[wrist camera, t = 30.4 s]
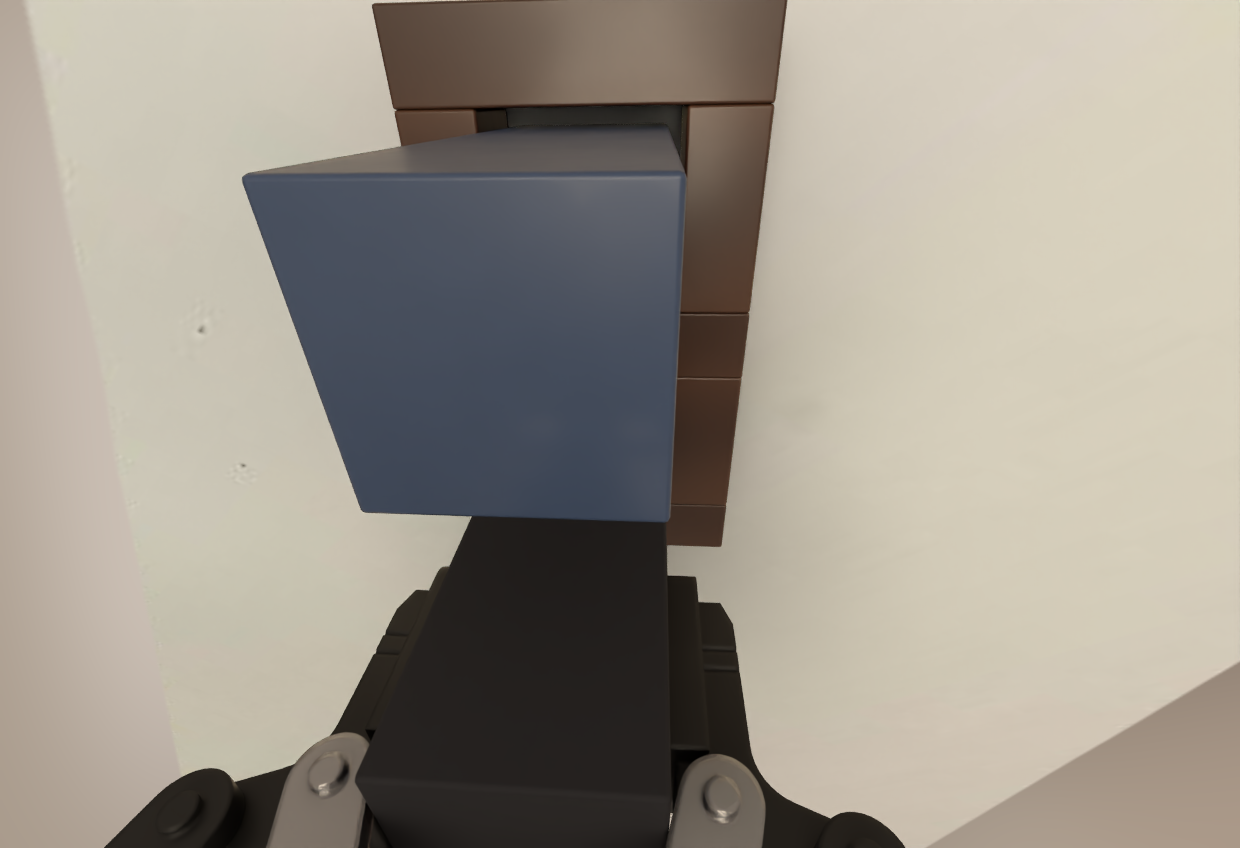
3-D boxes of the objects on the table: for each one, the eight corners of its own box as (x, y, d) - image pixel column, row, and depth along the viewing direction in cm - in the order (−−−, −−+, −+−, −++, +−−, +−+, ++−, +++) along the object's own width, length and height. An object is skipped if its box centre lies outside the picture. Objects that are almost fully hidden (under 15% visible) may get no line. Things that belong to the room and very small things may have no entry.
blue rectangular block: (536, 271, 17) (360, 515, 7) (522, 125, 15) (235, 174, 5) (663, 271, 17) (670, 524, 7) (667, 122, 15) (688, 170, 5)
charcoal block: (546, 476, 19) (419, 899, 9) (535, 373, 17) (349, 781, 7) (660, 479, 19) (662, 918, 9) (663, 375, 17) (672, 802, 7)
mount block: (713, 495, 22) (721, 547, 19) (502, 489, 22) (482, 539, 20) (763, 11, 13) (789, -10, 11) (422, 21, 14) (369, 2, 11)
